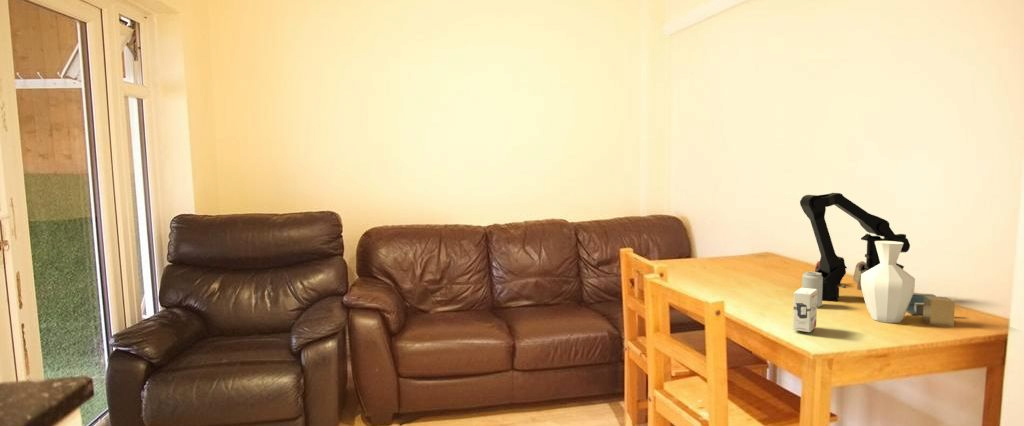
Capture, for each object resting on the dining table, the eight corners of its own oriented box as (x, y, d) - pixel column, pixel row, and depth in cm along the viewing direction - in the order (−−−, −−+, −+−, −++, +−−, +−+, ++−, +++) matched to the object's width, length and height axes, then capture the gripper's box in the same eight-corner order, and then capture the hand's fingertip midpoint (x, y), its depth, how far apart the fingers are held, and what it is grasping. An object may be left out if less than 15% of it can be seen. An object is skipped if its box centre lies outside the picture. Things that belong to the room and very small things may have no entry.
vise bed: (912, 315, 181) (912, 313, 181) (896, 304, 196) (896, 302, 196) (952, 318, 177) (952, 316, 177) (932, 306, 192) (932, 304, 192)
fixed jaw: (916, 313, 180) (916, 304, 180) (913, 312, 182) (914, 302, 182) (952, 316, 177) (953, 306, 177) (950, 314, 179) (950, 304, 179)
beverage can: (819, 304, 196) (820, 271, 195) (823, 309, 190) (824, 274, 189) (799, 303, 198) (800, 270, 197) (803, 307, 192) (804, 273, 191)
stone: (856, 292, 215) (867, 295, 214) (862, 269, 213) (873, 271, 212) (851, 280, 232) (861, 282, 230) (856, 259, 230) (867, 261, 228)
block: (930, 325, 169) (931, 300, 169) (922, 320, 175) (923, 295, 174) (953, 327, 167) (954, 301, 167) (945, 321, 173) (946, 297, 173)
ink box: (799, 323, 173) (800, 286, 172) (816, 326, 170) (818, 288, 169) (792, 329, 166) (793, 291, 165) (810, 332, 163) (811, 293, 162)
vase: (914, 328, 167) (918, 246, 165) (859, 321, 174) (862, 243, 172) (910, 317, 179) (914, 241, 177) (859, 311, 186) (862, 238, 184)
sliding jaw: (876, 301, 196) (877, 292, 196) (874, 300, 198) (875, 291, 198) (935, 305, 190) (935, 295, 190) (932, 303, 193) (932, 294, 192)
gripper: (911, 257, 190) (909, 301, 191) (892, 249, 207) (891, 290, 209) (873, 256, 193) (872, 299, 195) (859, 248, 211) (857, 288, 212)
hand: (874, 294), depth 202 cm, fingers closed
